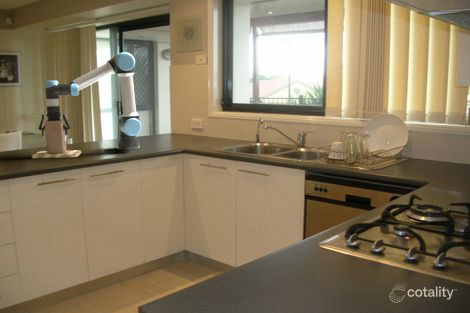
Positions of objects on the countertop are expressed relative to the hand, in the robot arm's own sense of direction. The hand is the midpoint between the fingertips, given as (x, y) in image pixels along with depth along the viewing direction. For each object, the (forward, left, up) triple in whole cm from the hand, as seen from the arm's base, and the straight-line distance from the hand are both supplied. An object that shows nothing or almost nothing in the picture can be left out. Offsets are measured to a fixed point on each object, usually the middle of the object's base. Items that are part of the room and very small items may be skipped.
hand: (55, 140), depth 285 cm
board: (-1, 0, -10) cm, 10 cm away
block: (-1, +1, -8) cm, 8 cm away
